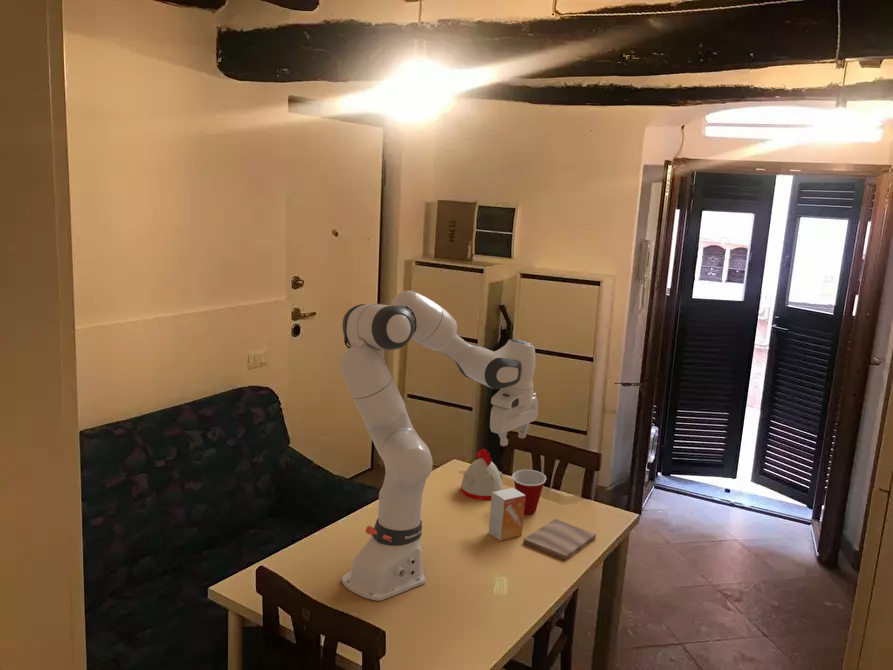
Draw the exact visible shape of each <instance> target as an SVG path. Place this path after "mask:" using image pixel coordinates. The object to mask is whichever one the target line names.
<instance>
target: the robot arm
mask: <svg viewBox="0 0 893 670" xmlns="http://www.w3.org/2000/svg"><path fill="white" fill-rule="evenodd" d="M457 323H458V322H457V320H455V318H454V317H453V316H452V315H451V314H450V313H449V312H448V311H447V310H446V309H445V308H443V307H442V306H441V305H439V304H438V303H436V302H435V301H433V300H432V299H430V298H428V297H427V296H424V294H421V293H419V292H416V291H415V290H414V291H413V290H408V289H407V290H403V291H401V292H399V293H398V294H397V295H396V296H394V298H393V300H392V301H391V303H390V304H381V303H367V304H366V303H361V304H357V305H355V306H353V307H351V308H350V309H348V310H347V311H346V313H345V314H344V317H343V318H342V332H343V339H344V341H343V343H344V345H345V347H346V348H347V349H346V350H345V351H344V352H343V353H342V355H341V357H340V361H339V364H340V365H339V366H340V370H341V373H342V376H343V380H344V383H345V385H346V388H347V390H348V393H349V394H350V396H351V398H352V400H353V402H354V404H355V406H356V409H357V411H358V412H359V415H360V418H361V419H362V421H363V422H364V425H365V427H366V429H367V432H368V434H369V436H370V438H371V441H372V443H373V444H374V447H375V449H376V451H377V453H378V455H379V456H380V458H381V459H382V461H383V463H384V469H385V474H384V480H383V484H382V487H381V489H380V490H379V493H378V511H377V513H378V515H377V518H376V521H375V523H374V526H371V525H368V526H366V528H365V533H366V534H367V535H370V536H371V537H370V538H369V539H368V541H367V542H366V543H365V545H364V546H363V547H362V548H361V549H360V550H359V552H358V553H357V554H356V555H355V557H354V558H353V560H352V565H351V570H349V571H348V572H347V573H345V574H344V575H343V576H342V577H341V583H342V584H343V586H344V587H345V588H346V589H347V590H349V591H350V592H352V593H354V594H356V595H357V596H360V597H362V598H365V599H368V600H372V601H377V602H378V601H379V602H381V601H384V600H386V599H389V598H391V597H394V596H396V595H399V594H401V593H404V592H406V591H408V590H409V591H410V590H412V589H414V588H416V587H419V586H422V585H424V584H426V577H425V575H424V572H425V569H424V562H423V549H422V544H421V536H422V533H423V532H422V531H423V524H422V523H423V521H422V519H421V517H422V503H423V501H422V500H423V493H424V488H425V483H426V481H427V479H428V478H429V477H430V475H431V473H432V471H433V466H434V463H433V462H434V461H433V457H432V453H431V450H430V448H429V446H428V445H427V444H426V443H425V442H424V440H423V439H422V437H420V436H419V434H418V433H417V431H416V430H415V427H414V426H413V424H412V421H411V419H410V416H409V413H408V410H407V408H406V404H405V401H404V399H403V397H402V395H401V393H400V391H399V389H398V387H397V384H396V382H395V381H394V377H393V376H392V374H391V372H390V370H389V368H388V366H387V364H386V358H385V350H386V351H393V350H394V351H395V350H398V349H401V348H403V347H405V346H406V345H407V344H408V343H409V342H410V340H411V339H412V340H413V341H415V342H416V343H418V344H419V345H421V346H423V347H425V348H427V349H428V350H432V351H434V352H442V353H443V354H444V355H446V356H447V357H448V358H450V359H452V361H453V362H454V363H455V364H456V366H457V368H458V369H459V372H460V374H462V376H464V377H466V379H470V380H473V381H475V382H478V383H479V384H480V385H484V386H486V387H488V388H491V389H494V390H498V391H497V392H496V393H495V394H494V395H493V396H492V397H491V400H490V404H491V405H492V406H491V409H490V417H489V418H490V419H489V429H490V431H491V433H494V434H497V435H498V437H499V439H500V440H499V444H500V446H502V447H505V446H508V445H509V439H508V438H507V435H508V432H511V431H513V430H515V429H517V428H520V429H519V431H518V433H517V434H518V435H517V437H518V438H519V439H525V438H526V437H527V431H528V429H529V427H530V423H532V422H535V421H537V418H538V414H539V401H538V398H537V393H536V391H535V390H534V380H533V379H534V375H535V370H536V349H535V346H534V345H533V344H532V343H531V342H529V341H526V340H522V339H517V338H510V339H508V340H507V342H506V343H505V345H503V346H501V347H500V348H499V349H497V350H494V351H493V350H490V349H488V348H486V347H484V346H482V345H481V344H476V343H468V342H467V341H465V340H464V339H463V338H462V337H460V336H459V335H458V334H457V332H458V324H457Z"/></svg>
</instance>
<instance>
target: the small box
mask: <svg viewBox="0 0 893 670" xmlns="http://www.w3.org/2000/svg"><path fill="white" fill-rule="evenodd" d="M525 497H526V495H524V494H523V493H521V492H519V491H518V490H516V489H515V487H510V488H509V487H508V488H505V489H503V490H500V491H495V492H492V497H491V500H490V512H489V521H488V522H489V523H488V524H489V525H488V533H489V534H490V535H492V536H493V537H494V538H496V539H497V540H499V541H500V542H502V541H505V540H509V539H513V538H517V537H522V535H523V526H524V518H525V517H524V515H525V514H524V507H525Z"/></svg>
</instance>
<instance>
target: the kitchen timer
mask: <svg viewBox="0 0 893 670" xmlns="http://www.w3.org/2000/svg"><path fill="white" fill-rule="evenodd" d="M476 457H477V459H475V460H473V462H472V463H471V464H470V465H469V466H468V467H467V468H466V471H465V472H463V476H462V477H463V478H462V480H461V485H460V492H461V493H462V495H464V497H467V498H469V499H472V500H476V501H491V497H492V492H495V491H500V490H503V481H502V480H503V473H502V471H500V470H499V469H498V467H497V465H496V464H495V463H494V462H493V461H492V460H493V458H492V457H491V453H490V452H488V450H486V449H485V448H482V449H481V450H479V451H478V452H476Z"/></svg>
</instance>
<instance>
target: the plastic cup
mask: <svg viewBox="0 0 893 670" xmlns="http://www.w3.org/2000/svg"><path fill="white" fill-rule="evenodd" d="M511 477H512V481H513V483H514V488H515V489H516V490H518V491H519V492H521V493H523V494H524V495H526V497H525V507H524V515H528V516H529V515H530V516H531V515H534V514H535V513H536V512H537V508H538V505H539V503H540V502H539V501H540V498H541V495H542V491H543V487H544V485H545V483H546V480H547V476H546V474H544V473H542V472H540V471H538V470H534V469H520V470H516V471H514V473H513V474H512V475H511Z"/></svg>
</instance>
